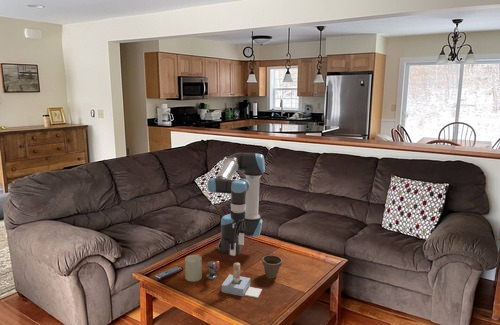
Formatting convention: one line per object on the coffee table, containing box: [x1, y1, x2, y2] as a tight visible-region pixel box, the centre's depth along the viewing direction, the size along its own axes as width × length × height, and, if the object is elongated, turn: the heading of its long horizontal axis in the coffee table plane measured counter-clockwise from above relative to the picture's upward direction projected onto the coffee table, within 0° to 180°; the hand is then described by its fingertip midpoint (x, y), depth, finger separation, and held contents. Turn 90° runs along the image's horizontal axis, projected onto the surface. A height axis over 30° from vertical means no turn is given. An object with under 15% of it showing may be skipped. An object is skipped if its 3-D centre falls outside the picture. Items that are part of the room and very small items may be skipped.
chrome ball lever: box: [207, 260, 220, 272], centre depth 206 cm, size 4×10×6 cm, turn 31°
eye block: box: [221, 273, 251, 297], centre depth 199 cm, size 12×12×4 cm
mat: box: [244, 286, 263, 299], centre depth 196 cm, size 8×7×1 cm
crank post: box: [205, 267, 218, 280], centre depth 210 cm, size 6×6×6 cm
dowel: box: [232, 262, 241, 285], centre depth 198 cm, size 4×4×14 cm
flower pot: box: [261, 254, 283, 279], centre depth 213 cm, size 12×11×10 cm
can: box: [184, 254, 203, 282], centre depth 208 cm, size 9×9×12 cm
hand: (237, 249), depth 195 cm, fingers open, 13 cm apart
